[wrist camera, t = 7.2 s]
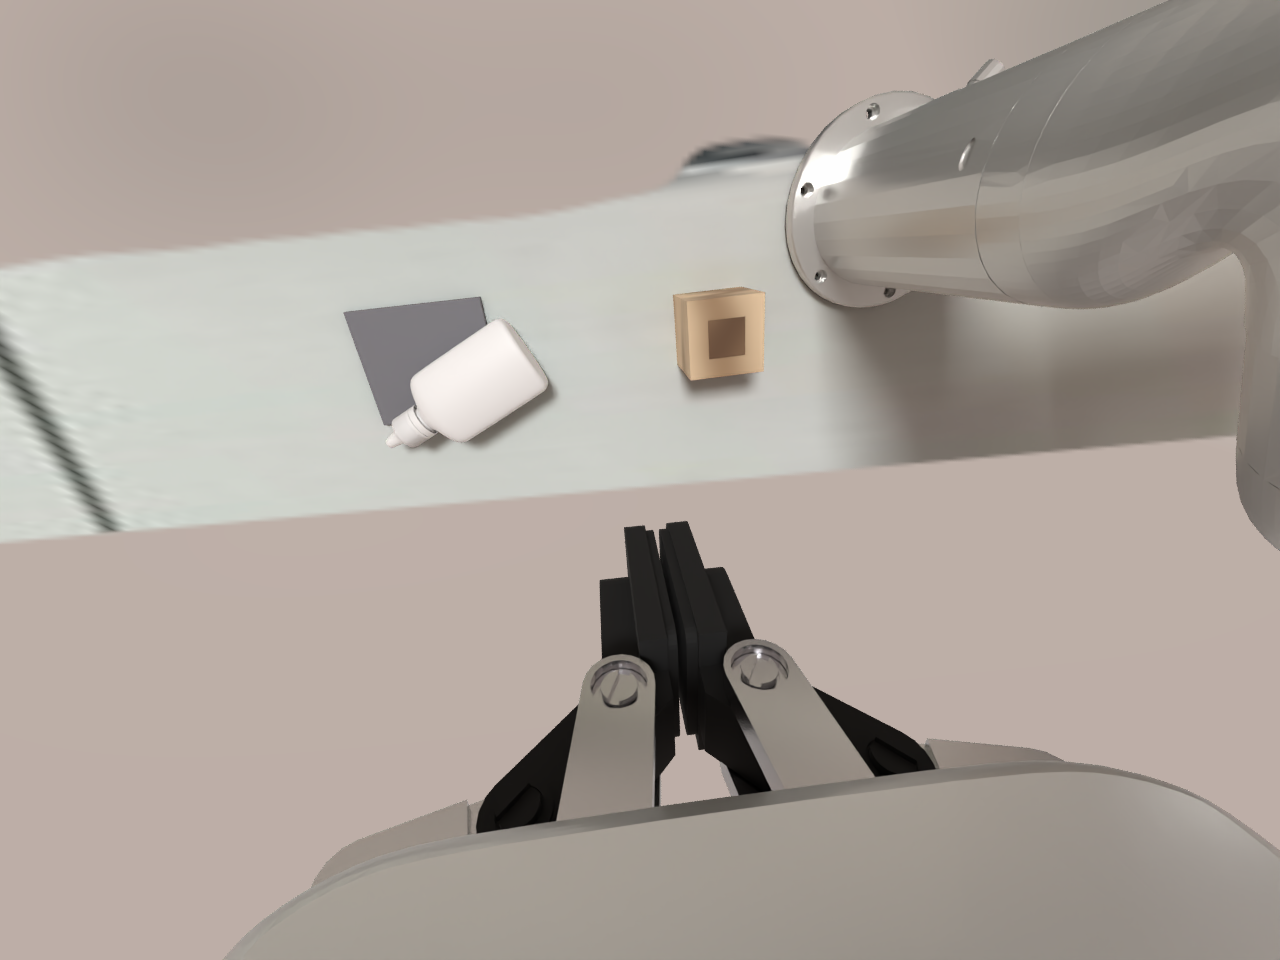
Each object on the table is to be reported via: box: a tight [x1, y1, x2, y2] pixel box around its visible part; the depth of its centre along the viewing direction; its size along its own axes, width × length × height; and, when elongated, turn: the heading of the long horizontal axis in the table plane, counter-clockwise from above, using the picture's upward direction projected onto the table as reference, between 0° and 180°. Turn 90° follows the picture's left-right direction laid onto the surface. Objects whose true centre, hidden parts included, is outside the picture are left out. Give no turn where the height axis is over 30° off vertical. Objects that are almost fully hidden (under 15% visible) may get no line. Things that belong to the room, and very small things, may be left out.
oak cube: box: [673, 287, 765, 380], centre depth 33 cm, size 5×5×5 cm
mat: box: [344, 297, 487, 425], centre depth 34 cm, size 9×8×1 cm
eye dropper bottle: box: [385, 319, 548, 448], centre depth 33 cm, size 4×6×12 cm
